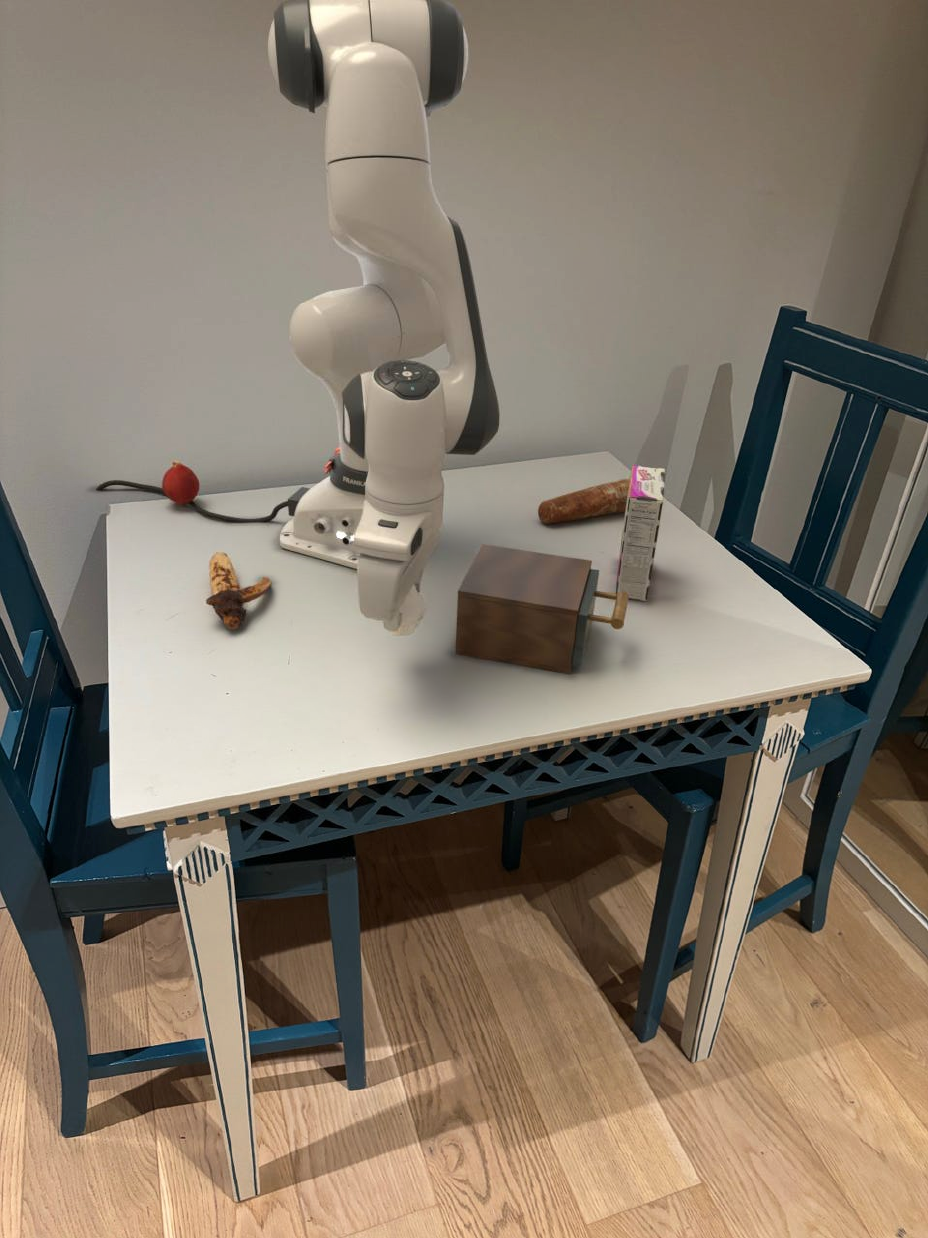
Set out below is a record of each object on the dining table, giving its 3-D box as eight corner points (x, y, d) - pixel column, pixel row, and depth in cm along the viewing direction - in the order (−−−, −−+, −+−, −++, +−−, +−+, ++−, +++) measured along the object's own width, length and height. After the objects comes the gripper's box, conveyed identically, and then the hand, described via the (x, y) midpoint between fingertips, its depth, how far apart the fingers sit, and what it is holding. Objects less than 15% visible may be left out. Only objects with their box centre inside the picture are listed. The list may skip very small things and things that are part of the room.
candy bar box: (617, 562, 139) (632, 463, 130) (649, 566, 138) (666, 467, 129) (612, 598, 129) (628, 495, 120) (647, 603, 129) (665, 499, 120)
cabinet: (583, 620, 124) (591, 560, 119) (569, 674, 113) (578, 610, 108) (478, 603, 127) (481, 543, 122) (455, 653, 116) (457, 590, 111)
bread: (644, 514, 153) (649, 484, 150) (545, 530, 147) (548, 500, 144) (625, 499, 158) (629, 470, 155) (528, 514, 151) (531, 484, 148)
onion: (186, 495, 153) (180, 451, 148) (209, 504, 150) (203, 460, 146) (158, 506, 149) (151, 461, 144) (181, 516, 146) (174, 470, 142)
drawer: (624, 624, 122) (632, 575, 118) (615, 673, 112) (623, 621, 108) (493, 602, 125) (497, 553, 121) (473, 648, 116) (476, 597, 111)
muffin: (394, 610, 114) (395, 563, 110) (434, 626, 112) (437, 578, 108) (366, 632, 110) (365, 584, 106) (407, 649, 107) (408, 601, 103)
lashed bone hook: (281, 630, 120) (264, 563, 134) (280, 600, 117) (263, 536, 131) (210, 638, 117) (200, 569, 131) (207, 608, 114) (197, 541, 129)
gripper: (405, 469, 110) (403, 565, 118) (346, 546, 94) (348, 652, 101) (454, 477, 109) (449, 574, 117) (403, 556, 93) (401, 662, 100)
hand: (402, 611), depth 109 cm, fingers closed on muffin, 6 cm apart
